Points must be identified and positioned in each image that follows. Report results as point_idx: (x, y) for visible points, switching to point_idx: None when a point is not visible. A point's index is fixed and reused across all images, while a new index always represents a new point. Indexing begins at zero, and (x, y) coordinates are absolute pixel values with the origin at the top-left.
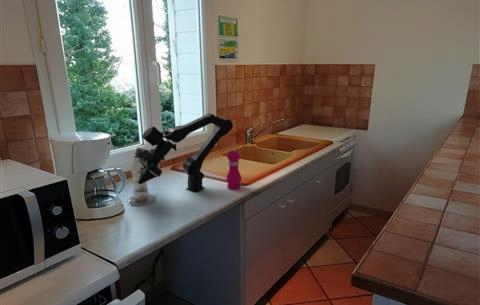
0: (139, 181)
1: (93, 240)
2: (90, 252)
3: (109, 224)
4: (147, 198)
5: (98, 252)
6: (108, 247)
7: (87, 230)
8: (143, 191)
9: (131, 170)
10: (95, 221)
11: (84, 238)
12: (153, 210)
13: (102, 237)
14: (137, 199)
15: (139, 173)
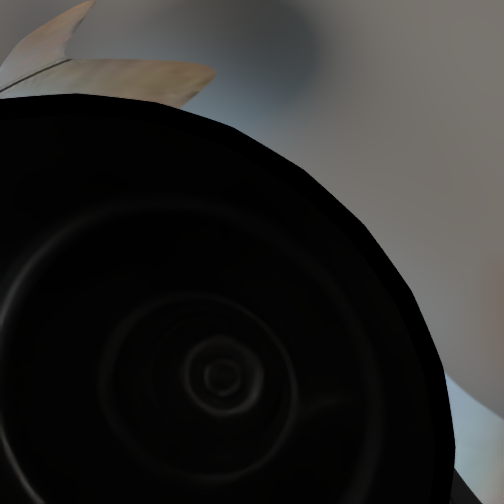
0: None
1: (81, 72)
2: (51, 66)
3: None
4: (182, 404)
5: (34, 77)
6: (25, 95)
7: (145, 68)
8: (150, 371)
9: (170, 170)
10: (181, 93)
11: (112, 59)
12: None
13: (69, 89)
14: (191, 325)
15: (23, 307)
